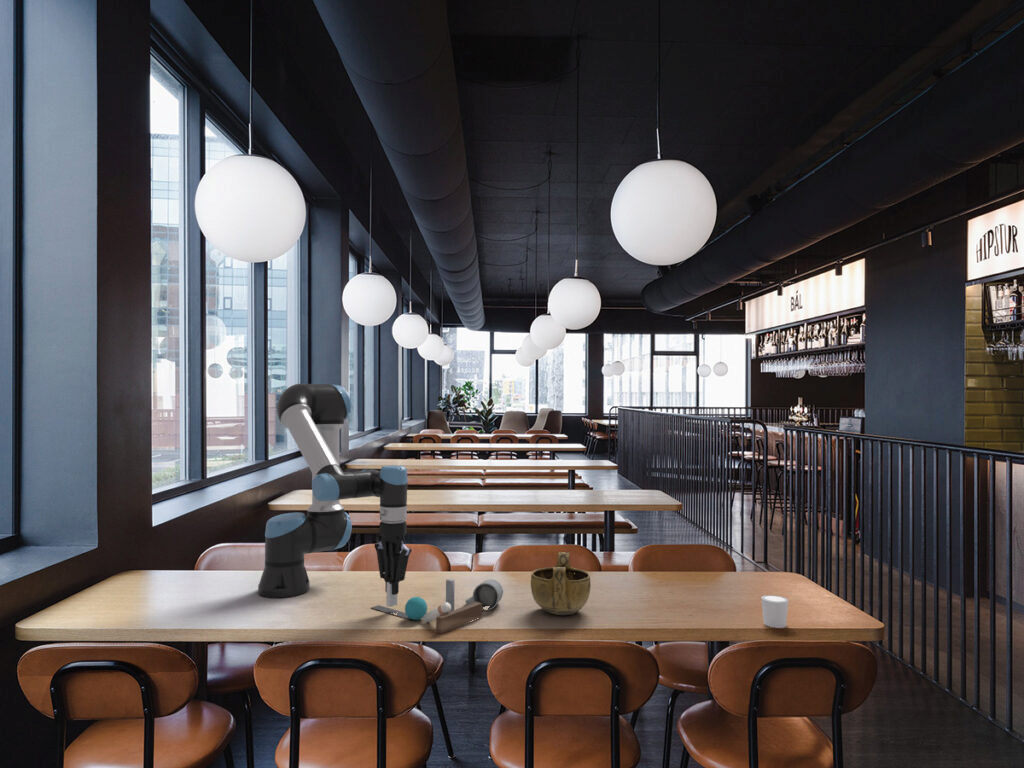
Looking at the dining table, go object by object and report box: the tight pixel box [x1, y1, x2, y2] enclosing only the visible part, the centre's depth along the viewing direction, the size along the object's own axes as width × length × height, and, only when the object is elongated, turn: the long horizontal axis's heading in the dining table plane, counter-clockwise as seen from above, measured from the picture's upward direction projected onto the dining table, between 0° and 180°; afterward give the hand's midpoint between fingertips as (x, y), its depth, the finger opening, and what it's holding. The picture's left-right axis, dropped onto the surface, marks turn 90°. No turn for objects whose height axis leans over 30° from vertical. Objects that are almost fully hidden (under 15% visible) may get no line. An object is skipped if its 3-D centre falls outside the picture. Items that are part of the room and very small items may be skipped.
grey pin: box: [445, 578, 456, 613], centre depth 183 cm, size 2×2×9 cm
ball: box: [404, 596, 428, 621], centre depth 177 cm, size 6×6×6 cm
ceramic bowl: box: [530, 551, 591, 616], centre depth 184 cm, size 22×17×15 cm
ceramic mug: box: [465, 578, 504, 611], centre depth 189 cm, size 11×8×8 cm
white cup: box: [760, 594, 789, 629], centre depth 176 cm, size 7×7×7 cm
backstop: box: [435, 602, 483, 635], centre depth 173 cm, size 2×16×4 cm, turn 143°
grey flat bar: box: [370, 604, 410, 620], centre depth 182 cm, size 16×3×1 cm, turn 53°
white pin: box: [422, 601, 451, 623], centre depth 172 cm, size 2×2×9 cm
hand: (391, 605), depth 183 cm, fingers closed
